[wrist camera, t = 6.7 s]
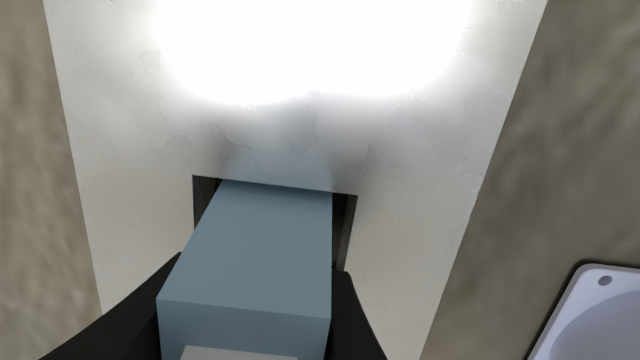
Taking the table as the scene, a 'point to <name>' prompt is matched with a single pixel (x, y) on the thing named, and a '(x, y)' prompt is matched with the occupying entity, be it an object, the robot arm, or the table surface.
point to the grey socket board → (290, 127)
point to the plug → (252, 278)
